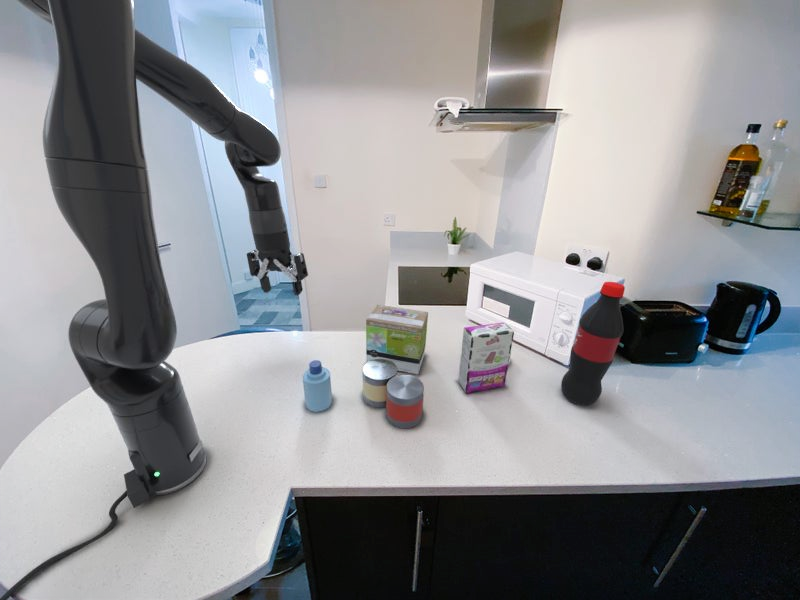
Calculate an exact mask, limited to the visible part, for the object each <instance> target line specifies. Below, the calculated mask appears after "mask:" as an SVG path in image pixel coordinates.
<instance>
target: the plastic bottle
mask: <svg viewBox="0 0 800 600" xmlns="http://www.w3.org/2000/svg"><path fill="white" fill-rule="evenodd" d="M308 366H309V367H308V369H307V370H305V371H304V372H303V374H302V385H303V392H304V402H305V407H306V408H307V410H309V411H311V412H314V413H320V412H324V411H325V410H327V409H329V408H330V407H331V406H332V403H333V392H332V380H331V379H332V378H331V372H330V370H329V369H328V368H326V367H324V366H323V365H322V361H321V360H317V359H315V360H312V361H310V362H309V364H308Z"/></svg>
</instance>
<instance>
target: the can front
mask: <svg viewBox="0 0 800 600" xmlns="http://www.w3.org/2000/svg"><path fill="white" fill-rule="evenodd" d="M424 391H425V386H424V383H423V381H422V380H421V379H419V378H418V377H416V376H413V375H410V374H397V376H395V377H393V378H391V379H390V380H389V381H388V383H387V392H386V407H385V410H386V412H385V416H386V419H387V421H388V423H389V424H391V425H392V426H394V427H396V428H400V429H410V428H414V427H415V426H417V425H419V423H421V421H422V418H423V410H424V394H425V393H424Z"/></svg>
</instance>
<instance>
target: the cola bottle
mask: <svg viewBox="0 0 800 600" xmlns="http://www.w3.org/2000/svg"><path fill="white" fill-rule="evenodd" d="M625 289H626V287H625V285H623V284H621V283H619V282H615V281H605V282H603V284H602V286H601V288H600V291H599V294H600V296H599V297H598V299H597V301H595V302H594V303H593V304H591V306H590V307H588V308H587V309H586V311H585V312H583V314H582V315H581V317H580V319H579V322H578V327H577V331H576V334H575V338H574V340H573V344H572V346H571V349H570V357H569V366H568V367H569V368H568V370H567V371H566V373H565V374H564V375H563V377H562V379H561V383H560V384H561V387H560V388H561V392H562V394H563V395H564V397H565V398H566V399H567V400H569V401H570V402H572V403H574V404H578V405H580V406H590V405H593V404H595V403H596V402H597V401H598V400H599V399H600V397H601V394H602V390H603V387H602V380H603V378H604V377H605V376H606V373H607V372H608V371H609V369H610V367H611V366H612V364H613V361H614V356H615V353H616V351H617V348H618V345H619V342H620V340H621V337H622V336H623V333H624V331H625V330H624V322H623V321H624V320H623V316H622V311H621V307H620V303H621V299H622V298H623V297H624V295H625Z"/></svg>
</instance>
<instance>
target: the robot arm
mask: <svg viewBox="0 0 800 600" xmlns="http://www.w3.org/2000/svg"><path fill="white" fill-rule="evenodd" d="M16 1H17V2H18V3H19V4H21V5H22V6H24V7H25V8H26V9H28V10H29V11H31V13H33V14H34V15H36V16H38V17H39V18H40V19H42V20H44V21H45V22H46V23H48V24H50V25H51V26H52V28H53V33H54V34H53V35H54V38H55V48H56V66H55V73H54V79H53V84H52V88H51V92H50V95H49V98H48V102H47V107H46V111H45V115H44V120H43V128H42V146H43V154H44V155H43V156H44V158H45V160H44V161H45V164H46V169H47V172H48V178H49V183H50V186H51V191H52V193H53V197H54V200H55V203H56V205H57V208H58V209H59V211H60V212H59V213H60V214H61V215H62V217H63V219H64V220H65V222H66V224H67V225H68V227H69V228H70V229H71V231H72V232H73V234H74V235H75V237H76V238H77V240H78V241H79V242H80V244H81V245H82V247H83V248H84V249H85V251H86V253H87V254H88V256H89V257H90V259H91V260H92V262H93V263H94V266H95V267H96V270H97V271H98V274H99V277H100V279H101V283H102V286H103V293H104V297H105V298H102V299H97V300H94V301H91V302H89V303H87V304H85V305H84V306H82V307H81V308H80V309H79V310H77V311H76V313H75V314H74V315H73V317H72V318H71V321H70V323H69V326H68V333H67V335H68V336H67V337H68V342H69V346H70V349H71V352H72V355H73V356H74V359H75V360H76V362H77V364H78V366H79V368H80V370H81V371H82V373H83V375H84V377H85V378H86V381H87V382H88V384H89V386H90V388H91V389H92V391H93V392H94V393H95V395H96V396H97V397H98V398H100V400H102V401H103V402H104V404H106V406H107V407H108V409H109V411H110V413H111V415H112V418H113V420H114V422H115V425H116V426H117V428H118V430H119V433H120V435H121V437H122V439H123V441H124V444H125V446H126V448H127V452H128V453H127V454H128V457H129V460H130V463H131V465H132V467H133V469H132V470H130V471H127V472H126V473H124V474H123V478H124V484H125V488H126V489H125V491H124V492H123V493H122V494H121V495H120V496H119V497H118V498H117V499H116V500H115V501H114V502H113V503H112V505H111V506H110V509H109V511H108V516H109V518H110V520H111V521H110V523H109V524H108V525H107V527H105V529H104V530H102V531H101V532H100V533H99V534H98V535H96V536H94V537H92V538H90V539H88V540H86V541H84V542H82V543H80V544H77V545H75V546H72V547H71V548H68V549H66V550H64V551H62V552H60V553H58V554H55V555H53V556H52V557H50V558H47V560H45V561H43V562H42V563H40V564H39V565H37V566H36V567H35V568H34V569H32V570H31V571H29V572H28V573H27V574H26V575H24V576H23V577H22V578H21V579H19V581H17V582H16V583H15V584H13V586H12V587H11V588H9V589H8V590H7V591H6V592H5V593H4V594H3V595H2V596H1V597H0V600H9V598H11V597H12V596H13V595H14V594H15V593H16V592H17V591H18V590H19V589H20V588H22V586H24V585H25V584H26V583H27V582H28V581H29V580H31V578H33V577H34V576H36V575H37V574H38V573H39V572H41V571H42V570H44V569H45V568H47V567H49V566H50V565H53V563H56V562H57V561H59V560H61V559H63V558H65V557H67V556H70V555H72V554H73V553H75V552H77V551H79V550H81V549H84V548H85V547H87V546H89V545H90V544H92V543H94V542H95V541H97V540H99V539H100V538H102V537H104V536H105V535H107V534H108V533H109V532H110V531H112V529H114V527H115V525H116V524H117V522H118V521H119V520H118V519H119V516H118V514H117V513H116V510H117V508H118V506H119V505H120V504H121V502H123V500H125V499H126V498H128V500H129V502H130V504H131V506H132V508H133V509H136V508H137V507H139V506H141V505H142V504H144V503H146V502H148V501H150V500H151V498H153V497H155V496H163V495H168V494H172V493H174V492H177V491H180V490H181V489H184V488H185V487H187V486H188V485H189V484H192V483H193V481H195V480H196V479H197V478H198V477H199V475H201V473H202V472H203V470H204V469H205V466H206V464H207V455H206V454H207V453H206V451H205V449H204V445H203V440H201V438H200V435H199V432H198V429H197V426H196V422H195V420H194V417H193V413H192V410H191V406H190V403H189V400H188V397H187V393H186V391H185V387H184V385H183V382H182V378H181V376H180V373H179V372H178V370H177V369H176V368H175V367H174V366H173V365H172V364H170V363H168V362H167V361H166V360H167V359H168V358H169V357H170V355H171V354H172V353H173V350H174V348H175V346H176V345H175V344H176V341H177V335H178V331H177V330H178V329H177V327H178V326H177V321H176V316H175V312H174V308H173V305H172V301H171V297H170V293H169V289H168V286H167V282H166V278H165V274H164V271H163V265H162V261H161V260H162V259H161V253H160V248H159V247H160V246H159V242H158V236H157V230H156V224H155V218H154V217H155V216H154V210H153V199H152V197H153V196H152V189H151V182H150V174H149V169H148V162H147V158H146V152H145V146H144V137H143V130H142V129H143V128H142V121H141V120H142V119H141V112H140V111H141V110H140V101H139V96H138V95H139V93H138V85H137V81H139V82H140V83H142V84H143V85H145V86H146V87H147V88H149V89H150V90H152V91H153V92H155V94H157V95H159V96H160V97H161V98H163V99H164V100H165V101H167V102H168V103H170V104H171V105H172V106H174V108H177V110H179V111H180V112H181V113H183V114H184V115H185V116H186V117H187V118H189V119H190V120H191V121H192V122H194V123H195V124H196V125H197V126H198V127H200V128H201V129H202V130H203V131H205V132H206V133H207V134H208V135H210V136H211V137H212V138H214V139H215V140H218V141H221V142H224V150H225V155H226V158H227V161H228V162H229V165H230V166H231V168H232V170H233V172H234V173H235V176H236V178H237V180H238V182H239V183H240V185H241V187H242V190H243V192H244V196H245V198H244V199H245V202H246V206H247V211H248V219H249V224H250V228H251V234H252V237H253V241H254V246H255V249H253V250H251V251H249V252H247V253H246V258H247V264H248V269H249V273H250V276H251V277H256V278H257V279H258V280H259V283H260V288H261V290H262V291H263V293H265V294H268V293H269V292H271V291H272V285H271V281H270V277H269V276H268V275H269V273H270V272H275V271H276V272H279V273H282V272H283V274H284V275H285V276H288V277H289V279H290V280H291V284H292V290H293V295H294V296H300V295H301V294H302V292H303V291H304V289H303V283H302V281H303V280H304V279H306V278H307V277H308V276H309V272H308V267H307V264H306V258H305V254H304V253H303V252H299V253H292V252H291V242H290V236H289V231H288V225H287V219H286V216H285V212H284V209H283V205H282V199H281V194H280V188H279V184H278V183H277V181H276V180H275V179H272V178H268V177H265V176H264V175H262V173H261V172H260V170H259V169H258V167H259V168H260V167H263V168H264V167H265V168H266V167H272V166H274V165H276V164H278V162H279V161H280V159H281V155H282V149H281V144H280V141H279V140H278V137H277V136H276V135H275V133H274V132H273V131H272V130H271V129H270V128H269V127H268V126H267V125H265V124H264V123H262V122H261V121H259V120H258V119H257V118H255V117H253V116H252V115H251V114H249V113H248V112H247V111H244V110H243V109H241V108H240V107H238V106H237V105H236V104H235V103H234V102H233V101H232V100H231V98H229V97H228V96H227V95H226V93H225V92H224V91H223V90H221V88H219V87H218V85H216V83H215V82H213V80H211V79H210V78H209V77H208V76H207V75H206V74H204V73H203V72H201V71H200V70H199V69H197V68H196V67H195V66H193V65H192V64H190V63H189V62H187V61H185V60H184V59H182V58H180V57H179V56H177V55H175V54H174V53H172V52H170V51H169V50H167V49H166V48H164V47H162V46H161V45H159V44H158V43H157V42H155V41H153V40H152V39H150V38H149V37H148V36H146V35H145V34H143V33H142V32H140V31H139V30H138V29H136V28H135V27H136V25H135V3H134V0H16ZM260 262H261V263H262V264H261V265H260Z"/></svg>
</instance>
